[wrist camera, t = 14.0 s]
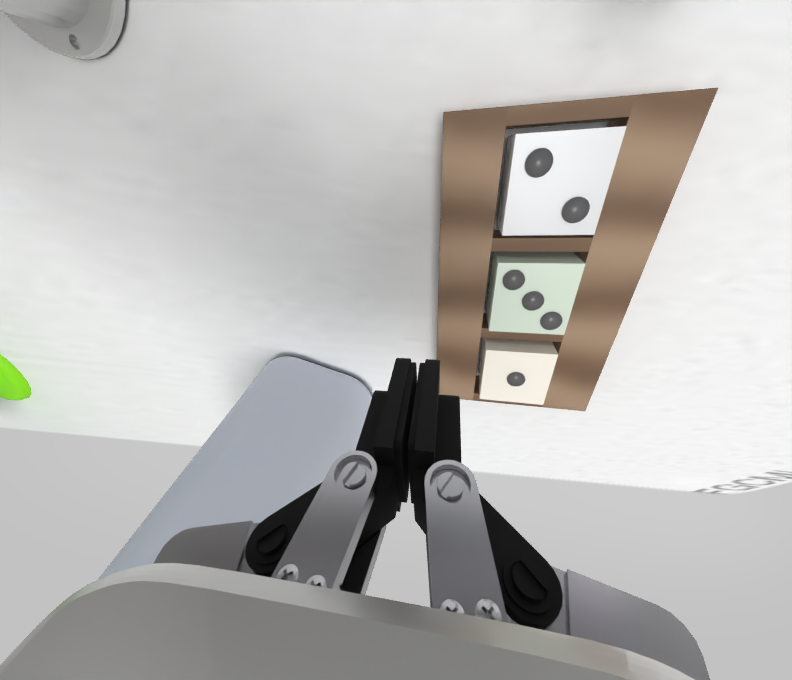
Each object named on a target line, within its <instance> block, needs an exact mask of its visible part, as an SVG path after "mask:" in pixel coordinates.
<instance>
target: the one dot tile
mask: <svg viewBox="0 0 792 680" xmlns="http://www.w3.org/2000/svg"><path fill="white" fill-rule="evenodd" d="M557 357H558V353H557V351H556V349H555V347H554V344H553V342H551V341H533V340H515V339H497V338H483V339H482V347H481V355H480V363H479V371H478V381H479V398H480V399H486V400H496V401H506V402H517V403H527V404H538V405H543V404H544V401H545V397H546V394H547V391H548V387H549V384H550V381H551V377H552V374H553V371H554V367H555V364H556V361H557Z"/></svg>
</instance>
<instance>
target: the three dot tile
mask: <svg viewBox="0 0 792 680" xmlns="http://www.w3.org/2000/svg"><path fill="white" fill-rule="evenodd" d="M584 267H585V263H584V262H583V261H582V260H581V259H580V258H579V257H578V256H577V255H575V254H574V253H573V252H501V251H493V259H492V267H491V275H490V283H489V291H488V299H487V307H486V314H487V321H488V328H489V331H498V332H517V333H536V334H555V335H564V334H565V331H566V327H567V324H568V321H569V317H570V314H571V311H572V307H573V304H574V301H575V297H576V294H577V291H578V287H579V284H580V281H581V277H582V274H583V271H584Z"/></svg>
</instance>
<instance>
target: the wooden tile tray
mask: <svg viewBox="0 0 792 680" xmlns="http://www.w3.org/2000/svg"><path fill="white" fill-rule="evenodd" d="M717 89H718V88H708V89H697V90H686V91H675V92H664V93H653V94H641V95H630V96H619V97H608V98H597V99H586V100H574V101H563V102H552V103H541V104H530V105H518V106H507V107H496V108H485V109H474V110H463V111H451V112H444V116H443V153H442V189H441V225H440V261H439V297H438V333H437V360H440V391H439V395H453V396H459V398H460V399H465V400H475V401H485V402H495V403H506V404H516V405H526V406H537V407H547V408H557V409H568V410H578V411H585V410H586V408H587V405H588V403H589V400H590V398H591V396H592V393H593V391H594V388H595V386H596V383H597V381H598V379H599V376H600V374H601V371H602V369H603V366H604V364H605V362H606V359H607V357H608V354H609V352H610V349H611V347H612V345H613V342H614V340H615V337H616V335H617V332H618V330H619V328H620V325H621V323H622V320H623V318H624V315H625V313H626V311H627V308H628V306H629V303H630V301H631V298H632V296H633V294H634V291H635V289H636V286H637V284H638V281H639V279H640V276H641V274H642V272H643V269H644V267H645V264H646V262H647V259H648V257H649V255H650V252H651V250H652V247H653V245H654V242H655V240H656V238H657V235H658V233H659V230H660V228H661V225H662V223H663V221H664V218H665V216H666V213H667V211H668V208H669V206H670V204H671V201H672V199H673V196H674V194H675V191H676V189H677V187H678V184H679V182H680V179H681V177H682V174H683V172H684V170H685V167H686V165H687V162H688V160H689V157H690V155H691V153H692V150H693V148H694V145H695V143H696V140H697V138H698V136H699V133H700V131H701V128H702V126H703V123H704V121H705V119H706V116H707V114H708V111H709V109H710V106H711V104H712V102H713V99H714V97H715V94H716V92H717ZM605 121H609V122H608V126H607V127H620V126H627V127H626V130H625V134H624V137H623V140H622V144H621V147H620V150H619V154H618V157H617V160H616V164H615V167H614V170H613V174H612V177H611V180H610V184H609V187H608V190H607V194H606V197H605V200H604V204H603V207H602V210H601V214H600V217H599V220H598V224H597V227H596V230H595V234H594V235H513V236H502V235H501V232H500V230H493V229H494V221H495V213H496V205H497V196H498V188H499V180H500V171H501V163H502V155H503V146H504V138H505V130H506V129H512V128H526V127H539V126H552V125H565V124H579V123H592V122H605ZM491 251H501V252H573V253H574V254H575V255H577V256H578V257H579V258H580V259H581V260H582V261H583V262H584V263H585V267H584V271H583V274H582V277H581V281H580V284H579V287H578V291H577V294H576V297H575V301H574V304H573V307H572V311H571V314H570V317H569V321H568V324H567V327H566V331H565V334H564V335H555V334H536V333H517V332H498V331H489V328H488V321H487V314H483V312H484V304H485V296H486V287H487V279H488V271H489V263H490V254H491ZM480 338H497V339H515V340H533V341H551V342H553V344H554V347H555V349H556V351H557V353H558V357H557V361H556V364H555V367H554V371H553V374H552V377H551V381H550V384H549V387H548V391H547V394H546V397H545V401H544V404H543V405H538V404H527V403H517V402H506V401H496V400H486V399H480V398H479V381H478V376H476V370H477V362H478V354H479V346H480Z"/></svg>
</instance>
